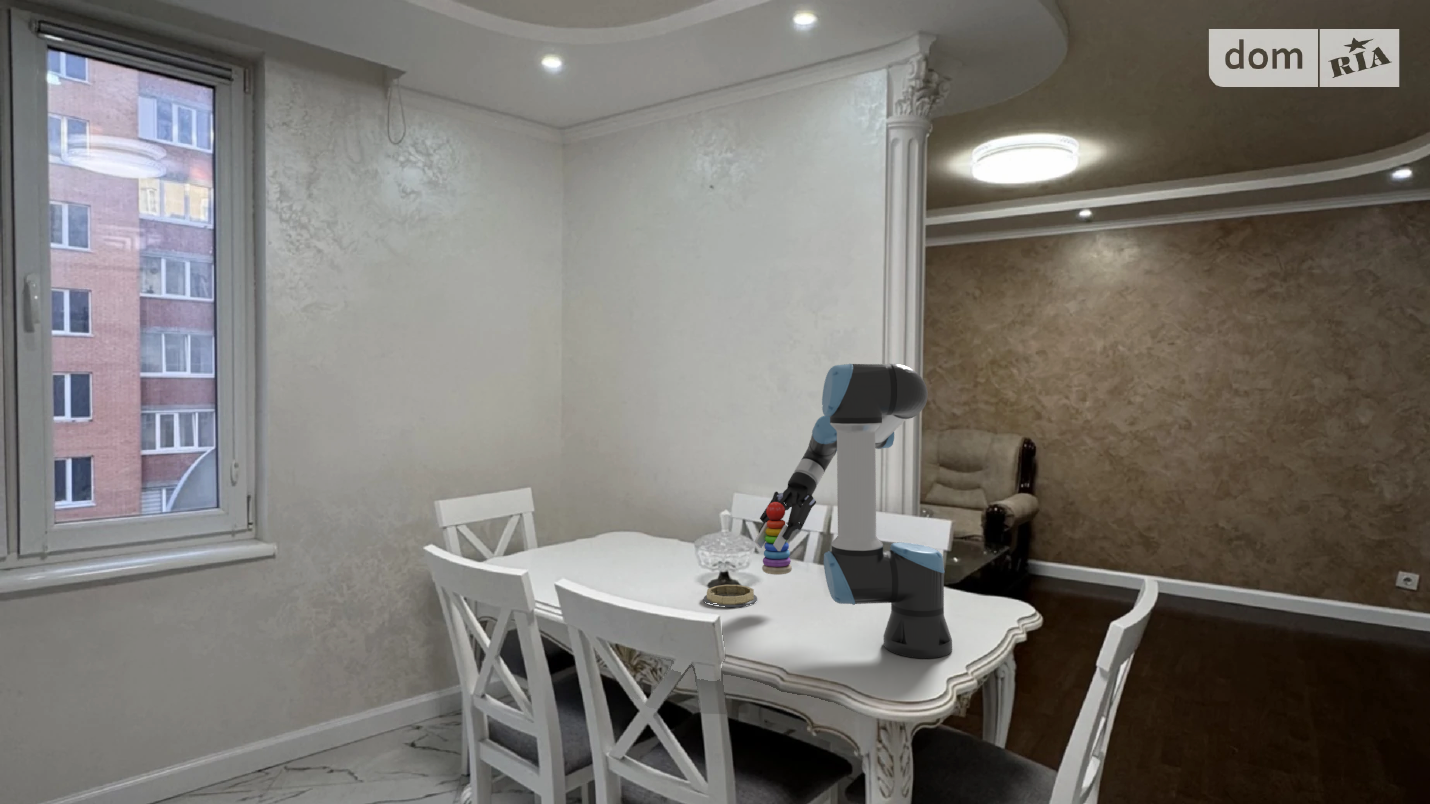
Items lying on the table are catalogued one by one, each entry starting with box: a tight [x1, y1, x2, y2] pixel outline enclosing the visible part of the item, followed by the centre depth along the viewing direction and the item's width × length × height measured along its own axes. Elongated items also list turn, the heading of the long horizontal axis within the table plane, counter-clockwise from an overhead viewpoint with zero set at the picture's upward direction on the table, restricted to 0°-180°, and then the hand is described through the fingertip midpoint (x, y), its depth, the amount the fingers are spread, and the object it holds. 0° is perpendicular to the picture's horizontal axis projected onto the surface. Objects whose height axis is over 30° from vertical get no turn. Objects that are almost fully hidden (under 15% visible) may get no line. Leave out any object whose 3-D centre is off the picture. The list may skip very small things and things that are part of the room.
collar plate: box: [703, 584, 758, 608], centre depth 213 cm, size 15×15×3 cm
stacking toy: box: [761, 502, 793, 576], centre depth 203 cm, size 8×8×19 cm
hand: (767, 546), depth 201 cm, fingers closed on stacking toy, 6 cm apart
